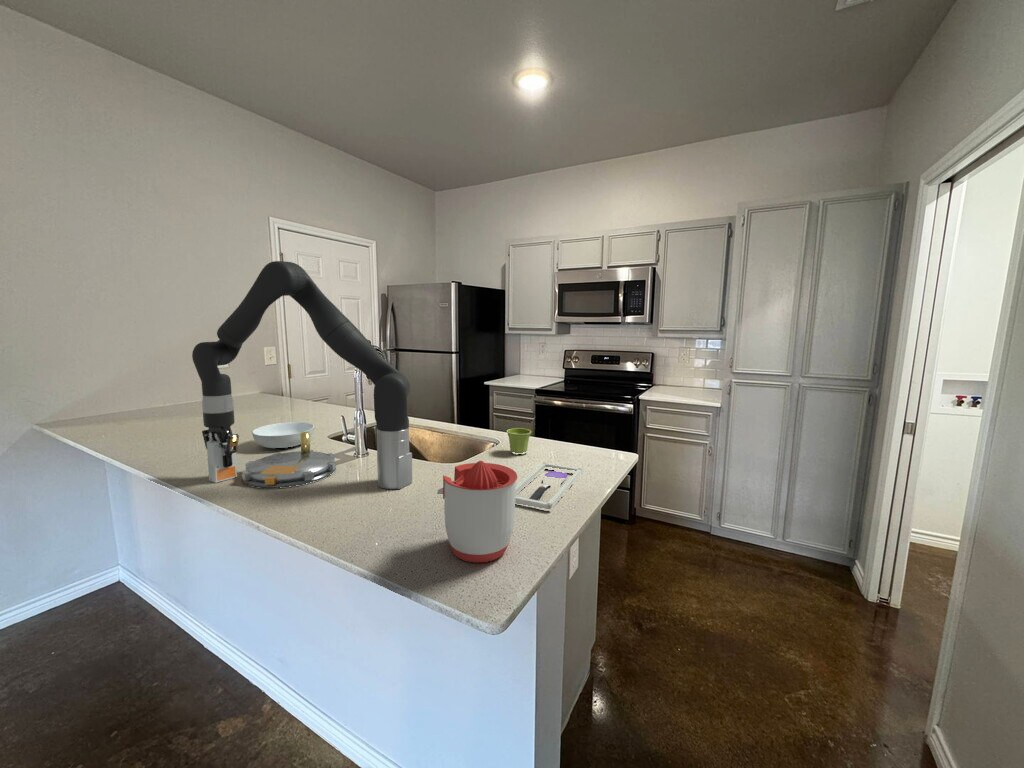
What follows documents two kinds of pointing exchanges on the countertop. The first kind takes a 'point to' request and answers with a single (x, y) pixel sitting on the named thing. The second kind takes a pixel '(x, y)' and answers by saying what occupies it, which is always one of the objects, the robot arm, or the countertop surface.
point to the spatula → (541, 489)
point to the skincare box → (219, 463)
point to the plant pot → (518, 439)
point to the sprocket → (290, 465)
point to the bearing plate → (287, 484)
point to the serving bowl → (281, 434)
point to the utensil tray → (555, 498)
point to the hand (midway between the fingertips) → (222, 465)
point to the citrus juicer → (479, 510)
